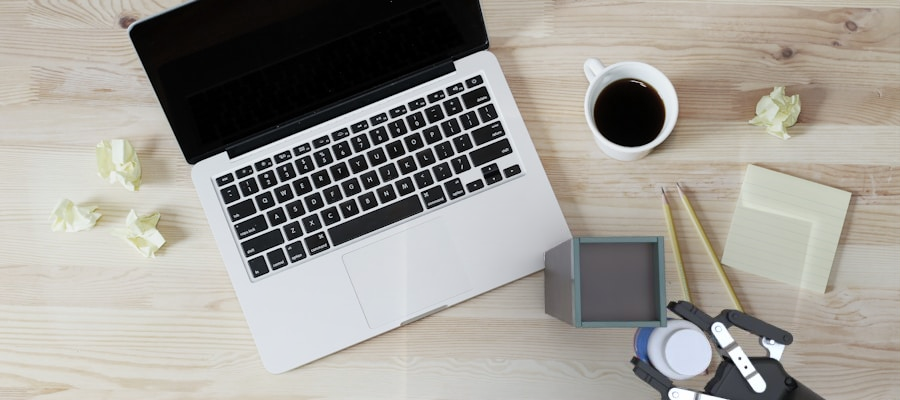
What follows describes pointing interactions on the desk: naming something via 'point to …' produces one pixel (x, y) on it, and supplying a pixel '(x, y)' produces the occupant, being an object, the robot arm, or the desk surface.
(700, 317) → the robot arm
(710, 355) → the pill bottle
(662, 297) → the socket
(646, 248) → the stand
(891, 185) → the desk surface
